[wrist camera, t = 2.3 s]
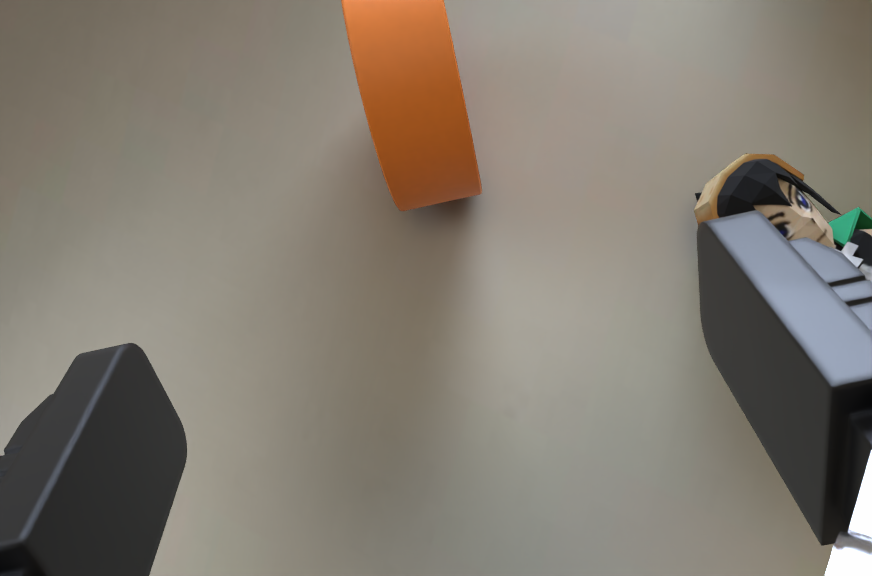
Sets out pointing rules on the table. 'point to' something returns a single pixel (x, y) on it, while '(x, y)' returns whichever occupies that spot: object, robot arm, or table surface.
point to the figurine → (785, 206)
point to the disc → (413, 99)
